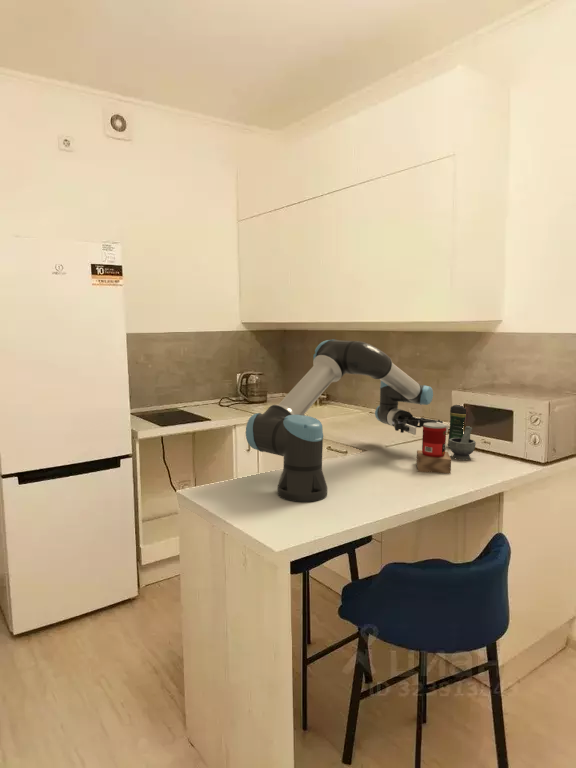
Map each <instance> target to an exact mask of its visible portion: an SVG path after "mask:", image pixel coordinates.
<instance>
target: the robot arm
mask: <svg viewBox="0 0 576 768" xmlns="http://www.w3.org/2000/svg"><path fill="white" fill-rule="evenodd" d="M314 352H315V353H313V362H312V364H313V365H312V367H311V368H310V369H309V370H308V371H307V373H306V374H304V376H303V377H302V378H301V379H300V380H299V381H298V382H297V383H296V384H295V385H294V386H293V388H292V389H291V390H290V391H289V392H288V393H287V394H286V395H285V396H284V398H282V400H281V401H280V402H279V403H278V404H272V405H270V406H269V407H268V408H267V409H266V410H265V411H264V412H263V413H261V412H257V413H254V414H253V415H251V416H250V417H249V419H248V420H247V422H246V426H245V437H246V438H245V439H246V441H247V443H248V445H249V446H250V447H251V448H252V449H253V450H256V451H258V452H261V453H268V454H272V455H276V456H281V457H283V469H282V471H281V475H280V477H279V478H280V479H279V480H278V484H277V489H276V491H277V492H276V494H277V495H278V497H280V498H281V499H284V500H285V501H286V500H287V501H291V502H298V503H300V502H301V503H306V502H307V503H309V502H316V501H320V500H323V499H325V498H326V497H327V496H328V485H327V482H326V478H325V475H324V472H323V447H324V444H323V443H324V432H323V424H322V422H321V421H320V420H319V419H318V418H315V417H313V416H310V415H306V413H307V412H308V411H309V409H310V408H312V406H313V405H314V404H315V402H316V401H317V400H318V399H319V398H320V396H322V394H323V393H324V392H325V390H327V388H329V386H330V385H331V384H332V383H337V382H338V381H340V380H341V379H342V377H343V376H344V375H348V374H349V375H351V374H352V375H361V376H362V375H363V376H368V377H370V378H372V379H373V380H380V387H379V404H378V406H377V407H376V409H375V411H374V416H375V418H376V420H377V421H379V422H380V423H382V424H385V425H388V426H391V427H393V428H394V430H395V431H396V432H398V431H399V430H400V433H402V434H403V433H405V432H406V433H409V434H412V435H417V428H418V429H419V428H423V424H424V423H442V424H445V423H444V421H443V420H440V419H431V418H424V417H416V416H414V415H413V414H412V413H411V412H410V411H406V410H403V409H401V408H399V402H401V403H406V404H415V405H421V406H422V405H425V406H427V405H430V404H431V403H432V401H433V397H434V392H433V391H434V389H433V388H432V387H431V386H430V385H429V386H428V385H425V384H424V385H422V384H420V383H419V382H418V381H416V380H414V379H413V378H412V377H411V376H409V374H407V373H406V372H405V371H403V370H402V369H401V368H400V367H398V366H397V365H396V364H394V363H393V360H392V358H391V357H390V356H389V355H388V354H387V353H385V352H384V351H382V350H381V349H379V348H377V347H375V345H373V344H370V343H367V342H364V341H360V340H359V341H358V340H340V339H327V340H324V341H321V342H320V343H319V344H318V345H317V346H316V348H315V349H314ZM445 425H446V434H448V433H449V424H445Z"/></svg>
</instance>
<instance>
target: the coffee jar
mask: <svg viewBox="0 0 576 768" xmlns="http://www.w3.org/2000/svg"><path fill="white" fill-rule="evenodd" d="M449 409H450V411H449V427H448V440H447V442H448V443H447V447H448V448H450V447H449V439H451V438H462V437H463V429H462V428H463V426H464V425H463V424H464V423H463V422H464V420H465V417H466V409H465V408H464V407H463V406H460V405H457V404H454V405H452V406H450V408H449Z"/></svg>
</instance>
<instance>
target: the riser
mask: <svg viewBox="0 0 576 768" xmlns="http://www.w3.org/2000/svg"><path fill="white" fill-rule="evenodd" d="M415 463H416V468H417V472H419V473H435V474H436V473H438V474H449V473H450V474H451V472H452V459H451V456H450V453H449V452H448V451H445V454H444V456H442V457H429V456H425V455H423V453H422V449H421V450H419V449H417V450H416V462H415Z"/></svg>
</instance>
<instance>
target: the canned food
mask: <svg viewBox="0 0 576 768" xmlns="http://www.w3.org/2000/svg"><path fill="white" fill-rule="evenodd" d="M446 425H447V424H446ZM446 425H445V423H443V424H442V423H424V424H423V427H422V438H421V439H422V440H421V441H422V445H421V450H422V453H423V455H425V456H429V457H442V456H444V454H445V452H446V445H447V444H446V441H447V440H446V439H447V433H446Z"/></svg>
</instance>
